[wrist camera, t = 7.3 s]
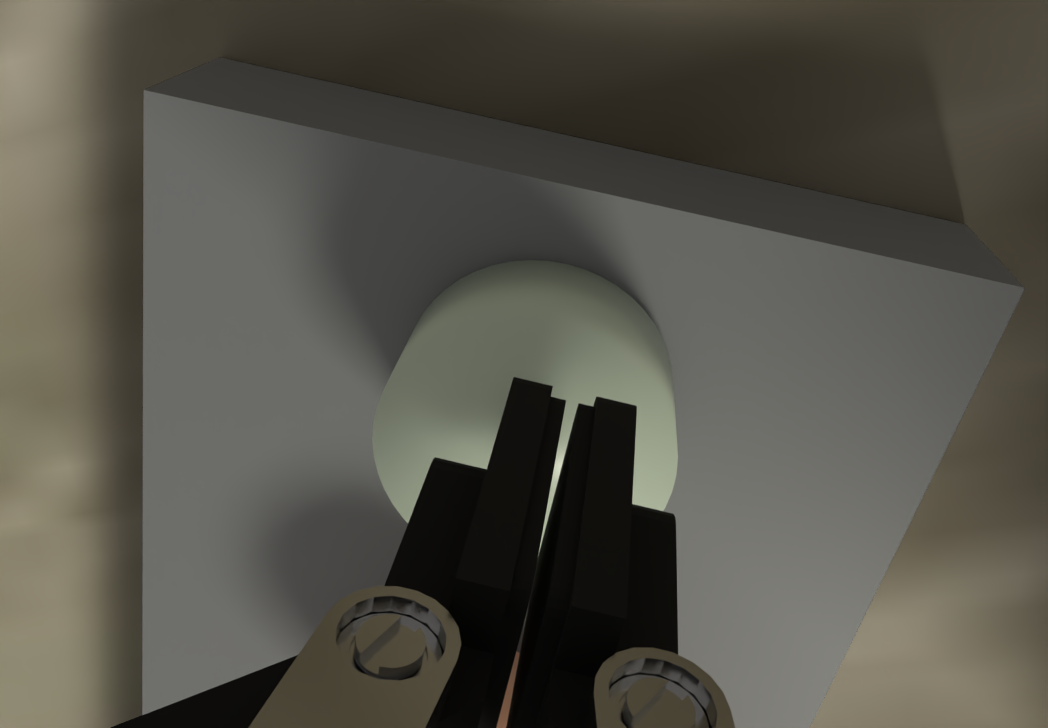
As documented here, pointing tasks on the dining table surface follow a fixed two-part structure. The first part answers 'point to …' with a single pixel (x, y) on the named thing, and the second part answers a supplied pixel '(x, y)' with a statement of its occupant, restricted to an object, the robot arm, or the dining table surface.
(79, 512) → the dining table surface
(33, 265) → the dining table surface
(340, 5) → the dining table surface
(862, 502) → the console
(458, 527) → the robot arm
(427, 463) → the sage button
